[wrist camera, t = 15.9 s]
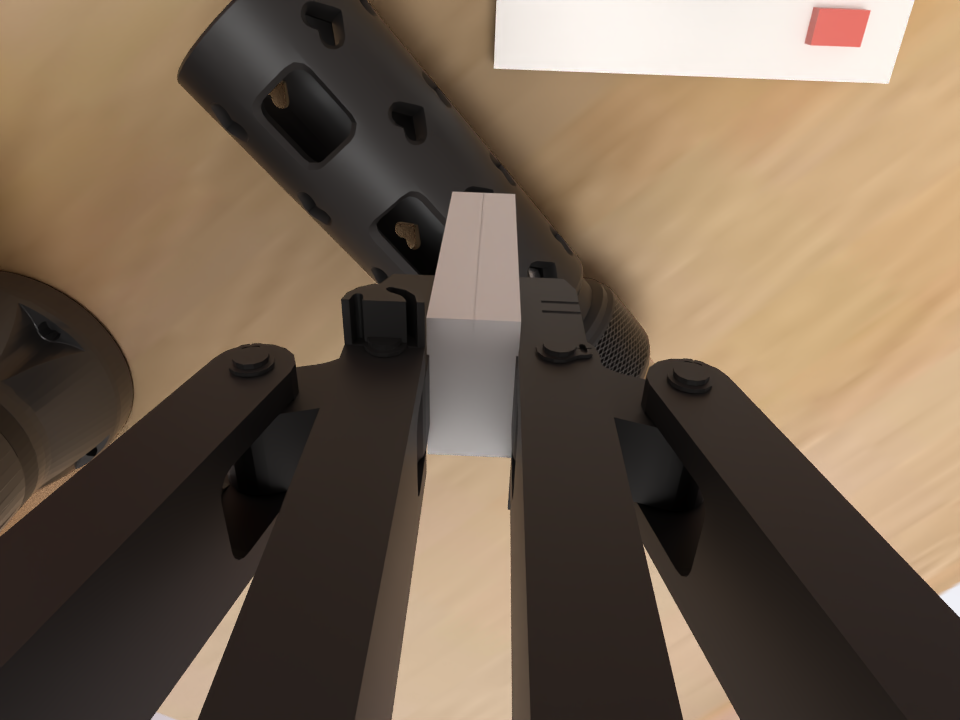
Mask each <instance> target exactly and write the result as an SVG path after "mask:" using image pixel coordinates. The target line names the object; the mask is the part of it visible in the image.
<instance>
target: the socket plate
mask: <svg viewBox="0 0 960 720" xmlns="http://www.w3.org/2000/svg"><path fill="white" fill-rule="evenodd" d="M913 3H914V0H497V1H496V27H495V53H494V69H518V70H545V71H571V72H598V73H624V74H651V75H677V76H704V77H730V78H757V79H783V80H810V81H836V82H863V83H889V80H890V77H891V74H892V71H893V68H894V64H895V61H896V58H897V55H898V51H899V48H900V45H901V42H902V39H903V35H904V32H905V29H906V26H907V23H908V19H909V16H910V13H911V10H912V7H913Z"/></svg>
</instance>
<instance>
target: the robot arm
mask: <svg viewBox="0 0 960 720" xmlns="http://www.w3.org/2000/svg"><path fill="white" fill-rule="evenodd" d="M341 303H342V316H343V328H344V341H345V345H344V348H343V350H342V353H341V356H340V358H339V359H336V360H334V361H331V362H327V363H322V364H317V365H310V366H303V367H296V363H295V358H294V355H293V354H292V353H291V352H290V351H288V350H287V349H286V348H282V347H279V346H276V345H270V344H261V343H255V344H252V345H250V344H246V345H241V346H239V347H237V348H233V349H230V350H227V351H225V352H223V353H222V354H220V355H218V356H217V357H215V358H214V359H213V360H211V361H210V362H209V363H208V364H207V365H205V366H204V367H203V368H202V369H201V370H199V371H198V372H197V373H196V374H195V375H193V376H192V377H191V378H190V379H189V380H187V381H186V382H185V383H184V384H183V385H181V386H180V387H179V388H178V389H177V390H175V391H174V392H173V393H172V394H171V395H169V396H168V397H167V398H166V399H165V400H163V401H162V402H161V403H160V404H159V405H157V406H156V407H155V408H154V409H153V410H151V411H150V412H149V413H148V414H147V415H145V416H144V417H143V418H142V419H141V420H140V421H138V422H137V423H136V424H135V425H134V426H132V427H131V428H130V429H129V430H128V431H126V432H125V433H124V434H123V435H122V436H120V437H119V438H118V439H117V440H116V441H114V442H113V443H112V444H111V445H110V446H109V444H110V443H111V442H112V441H113V439H114V438H115V437H116V436H117V434H118V433H119V432H120V431H121V429H122V428H123V426H124V425H125V423H126V421H127V419H128V417H129V414H130V411H131V407H132V401H133V387H132V380H131V376H130V372H129V369H128V366H127V364H126V361H125V359H124V357H123V355H122V353H121V351H120V349H119V348H118V346H117V344H116V343H115V341H114V340H113V339H112V337H111V336H110V335H109V333H108V332H107V331H106V330H105V328H104V327H103V326H102V325H101V324H100V323H99V322H98V321H97V320H96V319H95V318H94V317H93V316H92V315H91V314H90V313H89V312H87V311H86V310H85V309H84V308H83V307H81V306H80V305H79V304H77V303H76V302H75V301H73V300H72V299H70V298H69V297H67V296H66V295H64V294H62V293H61V292H59V291H57V290H55V289H53V288H51V287H49V286H47V285H45V284H43V283H41V282H38V281H36V280H33V279H30V278H27V277H24V276H21V275H17V274H14V273H9V272H4V271H0V532H1V530H2V529H3V528H4V527H5V526H6V524H7V523H8V522H9V521H10V520H11V519H12V517H13V516H14V515H15V514H16V512H17V511H18V510H19V509H20V508H21V507H22V505H23V504H24V503H25V502H26V501H27V500H28V499H29V497H30V496H31V495H32V494H34V493H36V492H37V491H39V490H41V489H43V488H44V487H46V486H48V485H50V484H52V483H53V482H55V481H57V480H59V479H60V478H62V477H64V476H66V475H67V474H69V473H71V472H72V471H74V470H75V469H77V468H80V467H82V466H83V465H85V464H87V463H88V464H87V465H86V466H84V467H83V468H82V469H81V470H80V471H78V472H77V473H76V474H75V475H74V476H72V477H71V478H70V479H69V480H68V481H66V482H65V483H64V484H63V485H62V486H60V487H59V488H58V489H57V490H56V491H54V492H53V493H52V494H51V495H50V496H48V497H47V498H46V499H45V500H44V501H42V502H41V503H40V504H39V505H38V506H37V507H35V508H34V509H33V510H32V511H31V512H29V513H28V514H27V515H26V516H25V517H23V518H22V519H21V520H20V521H19V522H17V523H16V524H15V525H14V526H13V527H11V528H10V529H9V530H8V531H7V532H5V533H4V534H3V535H2V536H1V537H0V720H151V718H152V717H153V716H154V714H155V713H156V711H157V710H158V709H159V707H160V706H161V704H162V703H163V702H164V700H165V699H166V697H167V696H168V695H169V693H170V692H171V690H172V689H173V688H174V686H175V685H176V683H177V682H178V681H179V679H180V678H181V676H182V675H183V674H184V672H185V671H186V669H187V668H188V667H189V665H190V664H191V663H192V661H193V660H194V658H195V657H196V656H197V654H198V653H199V651H200V650H201V649H202V647H203V646H204V644H205V643H206V642H207V640H208V639H209V637H210V636H211V635H212V633H213V632H214V630H215V629H216V628H217V626H218V625H219V623H220V622H221V621H222V619H223V618H224V616H225V615H226V614H227V612H228V611H229V609H230V608H231V607H232V605H233V604H234V602H235V601H236V600H237V598H238V597H239V595H240V594H241V593H242V591H243V590H244V588H245V587H246V586H247V584H248V583H249V581H250V580H251V579H252V577H253V576H254V578H253V580H252V583H251V585H250V588H249V590H248V593H247V595H246V598H245V601H244V603H243V606H242V608H241V611H240V613H239V616H238V618H237V621H236V624H235V626H234V629H233V631H232V634H231V636H230V639H229V641H228V644H227V647H226V649H225V652H224V654H223V657H222V659H221V662H220V664H219V667H218V670H217V672H216V675H215V677H214V680H213V682H212V685H211V687H210V690H209V693H208V695H207V698H206V700H205V703H204V705H203V708H202V710H201V713H200V715H199V718H198V720H391V719H392V712H393V705H394V698H395V691H396V684H397V677H398V670H399V663H400V655H401V648H402V641H403V634H404V627H405V620H406V613H407V606H408V599H409V592H410V585H411V578H412V571H413V564H414V557H415V550H416V542H417V535H418V528H419V521H420V514H421V507H422V500H423V493H424V486H425V479H426V447H427V441H428V454H438V455H461V456H485V457H508V458H511V470H510V484H509V499H508V509H509V510H510V524H511V642H512V720H683V717H682V713H681V709H680V704H679V700H678V695H677V691H676V687H675V682H674V678H673V674H672V669H671V665H670V661H669V656H668V652H667V647H666V643H665V639H664V634H663V630H662V626H661V621H660V617H659V613H658V608H657V604H656V600H655V595H654V591H653V586H652V582H651V578H650V573H649V569H648V565H647V560H646V556H645V552H644V547H645V548H646V550H647V552H648V554H649V556H650V557H651V559H652V561H653V563H654V565H655V566H656V568H657V570H658V572H659V574H660V575H661V577H662V579H663V581H664V583H665V584H666V586H667V588H668V590H669V592H670V593H671V595H672V597H673V599H674V601H675V602H676V604H677V606H678V608H679V610H680V612H681V613H682V615H683V617H684V619H685V621H686V622H687V624H688V626H689V628H690V630H691V631H692V633H693V635H694V637H695V639H696V640H697V642H698V644H699V646H700V648H701V649H702V651H703V653H704V655H705V657H706V658H707V660H708V662H709V664H710V666H711V668H712V669H713V671H714V673H715V675H716V677H717V678H718V680H719V682H720V684H721V686H722V687H723V689H724V691H725V693H726V695H727V696H728V698H729V700H730V702H731V704H732V705H733V707H734V709H735V711H736V713H737V714H738V716H739V718H740V720H960V617H959V616H958V615H957V614H956V613H955V612H954V611H953V610H952V609H951V608H950V607H949V606H948V605H947V604H946V603H945V602H944V601H943V600H942V599H941V598H940V597H939V596H938V595H937V593H936V592H935V591H934V590H933V589H932V588H931V587H930V586H929V585H928V584H927V583H926V582H925V581H924V580H923V579H922V578H921V577H920V576H919V575H918V574H917V573H916V572H915V571H914V570H913V568H912V567H911V566H910V565H909V564H908V563H907V562H906V561H905V560H904V559H903V558H902V557H901V556H900V555H899V554H898V553H897V552H896V551H895V550H894V549H893V548H892V547H891V546H890V545H889V543H888V542H887V541H886V540H885V539H884V538H883V537H882V536H881V535H880V534H879V533H878V532H877V531H876V530H875V529H874V528H873V527H872V526H871V525H870V524H869V523H868V522H867V521H866V520H865V518H864V517H863V516H862V515H861V514H860V513H859V512H858V511H857V510H856V509H855V508H854V507H853V506H852V505H851V504H850V503H849V502H848V501H847V500H846V499H845V498H844V497H843V496H842V495H841V493H840V492H839V491H838V490H837V489H836V488H835V487H834V486H833V485H832V484H831V483H830V482H829V481H828V480H827V479H826V478H825V477H824V476H823V475H822V474H821V473H820V472H819V471H818V470H817V468H816V467H815V466H814V465H813V464H812V463H811V462H810V461H809V460H808V459H807V458H806V457H805V456H804V455H803V454H802V453H801V452H800V451H799V450H798V449H797V448H796V447H795V446H794V444H793V443H792V442H791V441H790V440H789V439H788V438H787V437H786V436H785V435H784V434H783V433H782V432H781V431H780V430H779V429H778V428H777V427H776V426H775V425H774V424H773V423H772V422H771V421H770V419H769V418H768V417H767V416H766V415H765V414H764V413H763V412H762V411H761V410H760V409H759V408H758V407H757V406H756V405H755V404H754V403H753V402H752V401H751V400H750V399H749V398H748V397H747V396H746V394H745V393H744V392H743V391H742V390H741V389H740V388H739V387H738V386H737V385H736V384H735V383H734V382H733V381H732V380H731V379H730V378H729V377H728V376H727V375H725V374H724V373H723V372H721V371H720V370H719V369H717V368H715V367H712V366H710V365H708V364H705V363H704V362H701V361H697V360H695V361H693V359H668V360H663V361H659V362H657V363H655V364H654V365H652V366H650V367H649V369H648V372H647V375H646V379H642V378H637V377H633V376H628V375H625V374H621V373H618V372H615V371H613V370H610V369H608V368H606V367H604V366H603V365H602V364H601V360H600V355H599V353H598V352H597V350H596V348H595V347H594V346H593V345H591V344H590V343H588V342H587V339H586V335H585V330H584V325H583V320H582V316H581V311H580V306H579V301H578V297H577V292H576V289H574V288H573V287H572V286H571V285H570V284H569V283H568V282H567V281H566V280H564V279H555V278H530V277H519V266H518V245H517V224H516V203H515V194H500V193H474V192H452V196H451V201H450V206H449V211H448V216H447V220H446V225H445V230H444V235H443V240H442V245H441V249H440V254H439V259H438V264H437V269H436V274H435V275H410V274H393V275H391V276H390V277H389V278H387V279H386V280H385V281H383V282H382V283H380V284H371V285H367V286H362V287H358V288H356V289H354V290H352V291H350V292H347V293H346V295H345V296H344V297H343V298H342V299H341ZM643 545H644V547H643Z"/></svg>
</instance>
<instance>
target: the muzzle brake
mask: <svg viewBox="0 0 960 720" xmlns="http://www.w3.org/2000/svg"><path fill="white" fill-rule="evenodd" d="M177 80H178V82H179V84H180V85H181V86H182V87H183V88H184V89H185V90H186V91H187V92H188V93H189V94H190V95H191V96H192V97H193V98H194V99H195V100H196V101H197V102H198V103H199V104H200V105H201V106H202V107H203V108H204V109H205V110H206V111H207V112H208V113H209V114H210V115H211V116H212V117H213V118H214V119H215V120H216V121H217V122H218V123H219V124H220V125H221V126H222V127H223V128H224V129H225V130H226V131H227V132H228V133H229V134H230V135H231V136H232V137H233V138H234V139H235V140H236V141H237V142H238V143H239V144H240V145H241V146H242V147H243V148H244V149H245V150H246V151H247V152H248V153H249V154H250V155H251V156H252V157H253V158H254V159H255V160H256V161H257V162H258V163H259V164H260V165H261V166H262V167H263V168H264V169H265V170H266V171H267V172H268V173H269V174H270V175H271V176H272V177H273V179H274V180H275V181H276V182H277V183H278V184H279V185H280V186H281V187H282V188H283V189H284V190H285V191H286V192H287V193H288V194H289V195H290V196H291V197H292V198H293V199H294V200H295V201H296V202H297V203H298V204H299V205H300V206H301V207H302V208H303V209H304V210H305V211H306V212H307V213H308V214H309V215H310V216H311V217H312V218H313V219H314V220H315V221H316V222H317V223H318V224H319V225H320V226H321V227H322V228H323V229H324V230H325V231H326V232H327V233H328V234H329V235H330V236H331V237H332V238H333V239H334V240H335V241H336V242H337V243H338V244H339V245H340V246H341V247H342V248H343V249H344V250H345V251H346V252H347V253H348V254H349V255H350V256H351V257H352V258H353V259H354V260H355V261H356V262H357V263H358V264H359V265H360V266H361V267H362V268H363V269H364V270H365V271H366V272H367V273H368V274H369V275H370V276H371V277H372V278H373V279H374V280H375V281H376V282H377V283H378V284H380V283H382V282H383V281H385V280H386V279H387V278H389V277H390V276H391V275H393V274H410V275H435V274H436V269H437V264H438V259H439V254H440V249H441V245H442V240H443V235H444V230H445V225H446V220H447V216H448V211H449V206H450V201H451V196H452V192H474V193H500V194H515V203H516V224H517V245H518V266H519V277H530V278H555V279H564V280H566V281H567V282H568V283H569V284H570V285H571V286H572V287H573V288H574V289H576V292H577V297H578V301H579V306H580V311H581V316H582V320H583V325H584V330H585V335H586V339H587V342H588V343H590V344H591V345H593V346H594V347H595V348H596V350H597V352H598V353H599V355H600V360H601V364H602V365H603V366H604V367H606V368H608V369H610V370H613V371H615V372H618V373H621V374H625V375H628V376H633V377H637V378H642V379H646V375H647V372H648V369H649V367H650V366H652V365H654V364H655V363H654V362H653V360H652V359H651V358H650V345H649V340H648V336H647V334H646V332H645V331H644V329H643V328H642V326H641V325H640V324H639V323H638V322H637V320H636V319H635V318H634V317H633V315H632V314H631V313H630V312H629V311H628V309H627V308H626V307H625V306H624V304H623V303H622V302H621V301H620V300H619V298H618V297H617V296H616V295H615V293H614V292H613V291H612V290H611V289H610V288H609V287H608V286H606V285H604V284H602V283H599V282H598V281H596V280H594V279H590V278H583V266H582V263H581V261H580V259H579V258H578V256H577V255H576V254H575V253H574V252H573V250H572V249H571V248H570V247H569V245H568V244H567V243H566V242H565V241H564V239H563V238H562V237H561V236H560V235H559V234H558V233H557V231H556V230H555V229H554V227H553V226H552V225H551V224H550V222H549V221H548V220H547V219H546V218H545V216H544V215H543V214H542V213H541V212H540V210H539V209H538V208H537V207H536V205H535V204H534V203H533V202H532V201H531V199H530V198H529V197H528V196H527V195H526V193H525V192H524V191H523V190H522V188H521V187H520V186H519V185H518V184H517V182H516V181H515V180H514V179H513V178H512V176H511V175H510V174H509V173H508V171H507V170H506V169H505V168H504V167H503V166H502V165H501V164H500V162H499V161H498V159H497V158H496V157H495V156H494V154H493V153H492V152H491V151H490V150H489V148H488V147H487V146H486V145H485V144H484V142H483V141H482V140H481V139H480V137H479V136H478V135H477V134H476V133H475V131H474V130H473V129H472V128H471V127H470V125H469V124H468V123H467V122H466V120H465V119H464V118H463V117H462V116H461V114H460V113H459V112H458V111H457V110H456V108H455V107H454V106H453V105H452V103H451V102H450V101H449V100H448V99H447V97H446V96H445V95H444V94H443V93H442V91H441V90H440V89H439V88H438V87H437V86H436V84H435V83H434V82H433V80H432V79H431V78H430V77H429V76H428V74H427V73H426V72H425V71H424V70H423V68H422V67H421V66H420V65H419V63H418V62H417V61H416V60H415V59H414V57H413V56H412V55H411V54H410V53H409V51H408V50H407V49H406V48H405V46H404V45H403V44H402V43H401V42H400V40H399V39H398V38H397V37H396V36H395V34H394V33H393V32H392V31H391V29H390V28H389V27H388V26H387V25H386V23H385V22H384V21H383V20H382V19H381V17H380V16H379V15H378V14H377V12H376V11H375V10H374V9H373V8H372V6H371V5H370V4H369V3H368V2H367V0H232V1H231V2H230V3H229V4H228V5H227V6H226V7H225V9H224V10H223V11H222V12H221V13H220V14H219V15H218V16H217V17H216V18H215V19H214V20H213V22H212V23H211V24H210V25H209V26H208V28H207V29H206V30H205V31H204V32H203V34H202V35H201V36H200V37H199V38H198V40H197V41H196V42H195V44H194V45H193V46H192V48H191V49H190V51H189V52H188V54H187V55H186V57H185V58H184V60H183V62H182V64H181V66H180V68H179V70H178V74H177ZM279 83H284V92H285V99H286V105H285V108H284V109H281V108H278V107H276V106H275V105H274V104H273V102H272V99H271V96H270V95H268V94H269V93H270V92H271V91H272V90H273V89H274V88H275V87H276V86H277V85H278V84H279ZM396 224H406V225H415V236H416V245H415V247H414V248H413V249H410V248H409V247H408V245H407V243H406V239H405V238H401V237H399V236H398V235H397V234H396V232H395V225H396Z"/></svg>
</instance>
